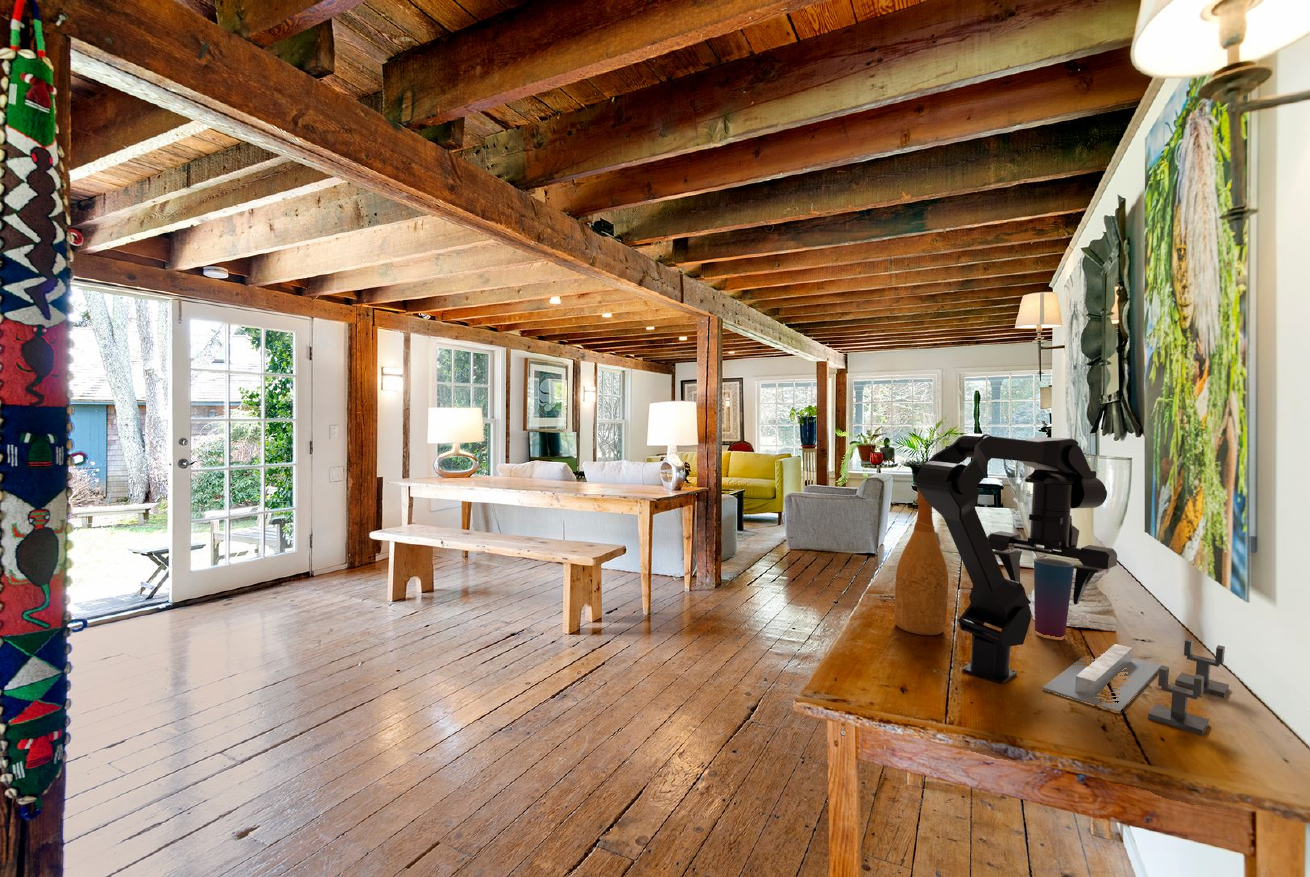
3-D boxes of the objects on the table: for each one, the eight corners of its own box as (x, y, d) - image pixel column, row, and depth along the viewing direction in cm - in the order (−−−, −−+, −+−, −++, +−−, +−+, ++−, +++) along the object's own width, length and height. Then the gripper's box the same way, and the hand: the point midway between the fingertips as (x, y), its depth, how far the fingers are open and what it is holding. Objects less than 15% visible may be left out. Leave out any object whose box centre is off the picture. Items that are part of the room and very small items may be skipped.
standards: (1202, 735, 85) (1205, 684, 85) (1147, 718, 90) (1151, 669, 90) (1228, 689, 101) (1231, 645, 101) (1181, 676, 106) (1183, 635, 105)
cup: (1076, 643, 120) (1080, 567, 119) (1037, 640, 121) (1042, 564, 121) (1060, 632, 127) (1065, 559, 126) (1024, 628, 128) (1028, 557, 127)
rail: (1093, 697, 95) (1094, 681, 95) (1074, 691, 97) (1075, 675, 97) (1131, 661, 110) (1132, 648, 110) (1114, 657, 112) (1115, 643, 112)
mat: (1119, 714, 91) (1119, 711, 91) (1042, 690, 98) (1042, 687, 98) (1161, 668, 109) (1161, 665, 109) (1094, 650, 117) (1094, 648, 117)
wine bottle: (952, 639, 120) (960, 486, 119) (899, 635, 122) (906, 483, 121) (937, 623, 130) (944, 480, 129) (888, 619, 132) (895, 478, 130)
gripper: (1128, 513, 106) (1122, 603, 107) (1011, 499, 120) (1006, 578, 121) (1110, 518, 99) (1103, 615, 100) (987, 503, 113) (982, 587, 114)
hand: (1045, 597), depth 109 cm, fingers open, 9 cm apart
